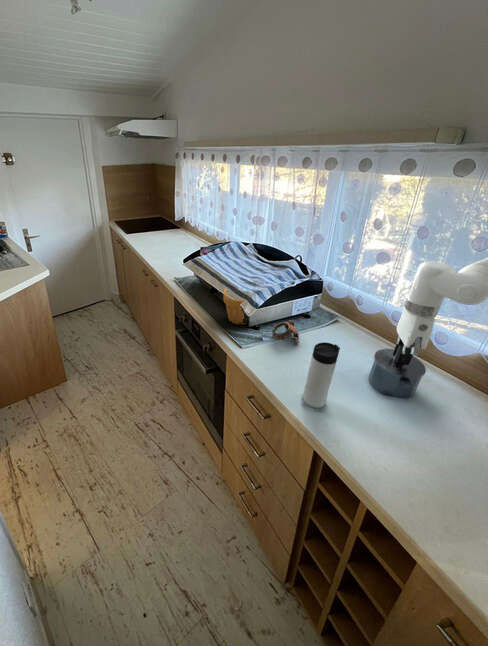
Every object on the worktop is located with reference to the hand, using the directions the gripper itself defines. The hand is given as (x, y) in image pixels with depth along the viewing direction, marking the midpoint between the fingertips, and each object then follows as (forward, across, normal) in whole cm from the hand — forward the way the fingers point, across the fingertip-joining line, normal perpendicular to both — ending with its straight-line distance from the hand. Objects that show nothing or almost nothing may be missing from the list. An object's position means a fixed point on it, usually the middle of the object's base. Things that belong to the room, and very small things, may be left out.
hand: (400, 359), depth 92 cm
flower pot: (+11, +28, +52) cm, 60 cm away
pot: (+10, 0, 0) cm, 10 cm away
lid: (+2, 0, 0) cm, 2 cm away
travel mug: (+10, -14, +24) cm, 30 cm away
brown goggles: (+10, +18, +32) cm, 38 cm away
